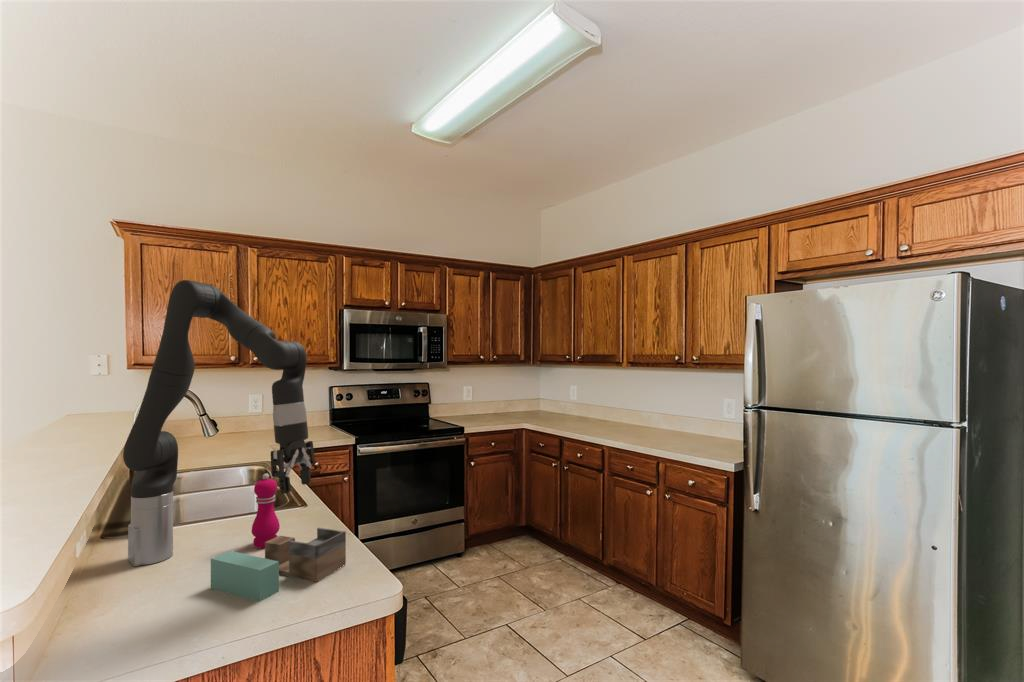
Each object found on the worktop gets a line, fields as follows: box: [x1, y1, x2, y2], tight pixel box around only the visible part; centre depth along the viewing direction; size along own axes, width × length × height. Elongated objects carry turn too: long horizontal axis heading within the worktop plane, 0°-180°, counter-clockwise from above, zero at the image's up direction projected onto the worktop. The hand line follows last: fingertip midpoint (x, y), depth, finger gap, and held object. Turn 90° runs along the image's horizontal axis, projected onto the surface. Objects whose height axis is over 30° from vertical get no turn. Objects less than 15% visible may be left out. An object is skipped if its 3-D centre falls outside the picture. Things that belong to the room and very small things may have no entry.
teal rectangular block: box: [210, 550, 280, 602], centre depth 117 cm, size 16×5×7 cm, turn 67°
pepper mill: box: [251, 472, 281, 549], centre depth 145 cm, size 7×7×20 cm
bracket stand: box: [264, 527, 347, 583], centre depth 129 cm, size 21×10×8 cm, turn 69°
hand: (296, 488), depth 124 cm, fingers open, 8 cm apart
